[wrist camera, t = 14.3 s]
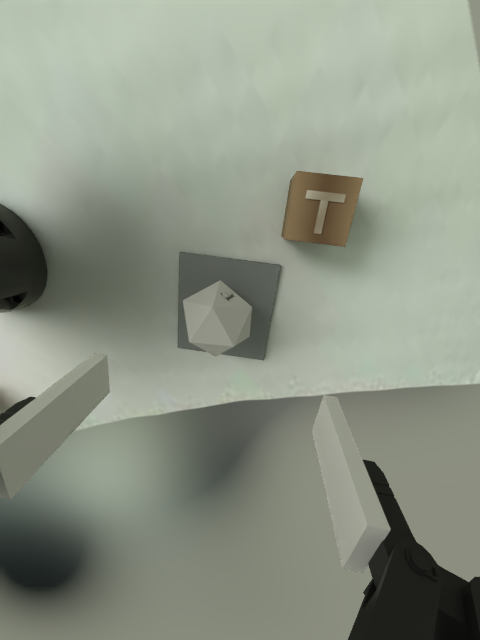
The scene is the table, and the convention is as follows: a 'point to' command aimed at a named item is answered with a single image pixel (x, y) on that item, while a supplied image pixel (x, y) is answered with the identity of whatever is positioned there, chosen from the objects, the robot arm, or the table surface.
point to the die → (217, 318)
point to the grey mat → (245, 280)
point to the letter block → (320, 208)
